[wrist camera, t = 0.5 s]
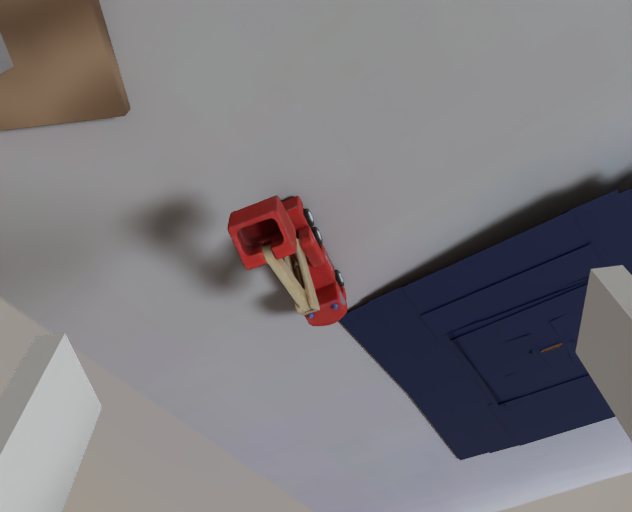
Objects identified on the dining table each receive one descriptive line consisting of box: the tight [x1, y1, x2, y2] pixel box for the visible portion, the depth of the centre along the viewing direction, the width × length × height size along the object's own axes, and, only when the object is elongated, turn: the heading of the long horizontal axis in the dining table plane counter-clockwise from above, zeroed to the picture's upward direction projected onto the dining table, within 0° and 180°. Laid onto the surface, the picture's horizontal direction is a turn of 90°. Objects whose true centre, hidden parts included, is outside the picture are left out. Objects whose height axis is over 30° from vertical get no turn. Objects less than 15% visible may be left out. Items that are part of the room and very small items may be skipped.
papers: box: [339, 188, 632, 460], centre depth 47 cm, size 24×30×4 cm
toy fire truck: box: [228, 195, 347, 326], centre depth 38 cm, size 3×14×10 cm, turn 23°
